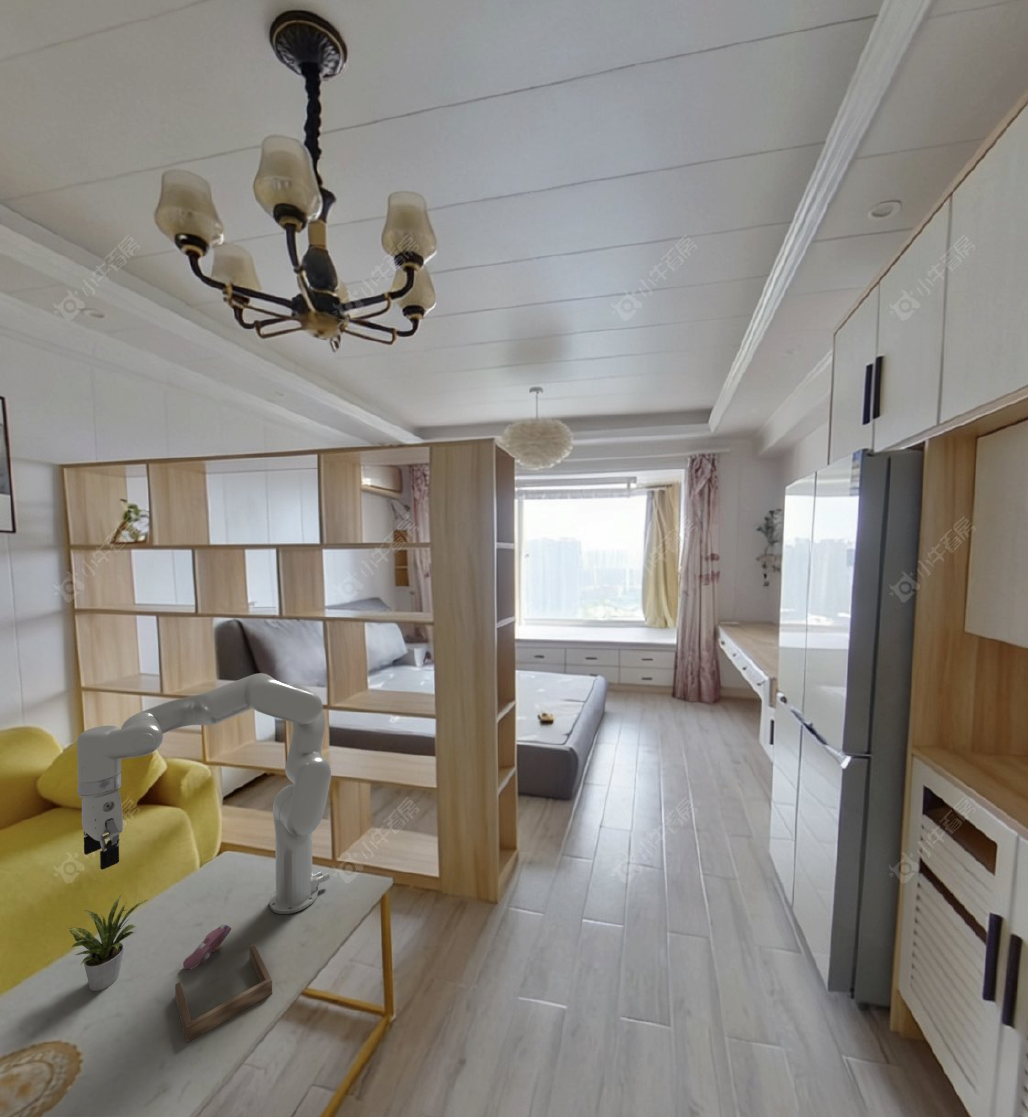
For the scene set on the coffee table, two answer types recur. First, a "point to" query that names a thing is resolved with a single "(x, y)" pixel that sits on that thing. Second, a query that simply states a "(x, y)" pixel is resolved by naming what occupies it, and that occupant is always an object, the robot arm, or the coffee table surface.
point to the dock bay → (227, 1008)
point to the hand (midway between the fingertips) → (101, 858)
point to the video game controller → (207, 946)
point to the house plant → (103, 947)
